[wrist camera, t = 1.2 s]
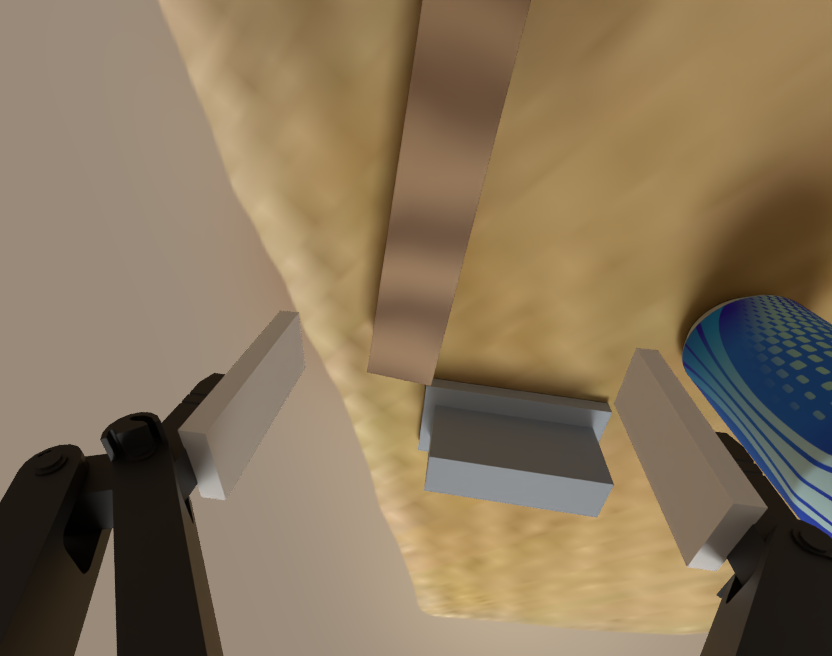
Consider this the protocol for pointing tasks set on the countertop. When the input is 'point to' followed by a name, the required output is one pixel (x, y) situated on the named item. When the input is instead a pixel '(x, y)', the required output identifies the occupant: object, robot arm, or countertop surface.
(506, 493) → the fulcrum block
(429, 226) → the walnut bar
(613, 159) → the countertop surface
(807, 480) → the beer can
